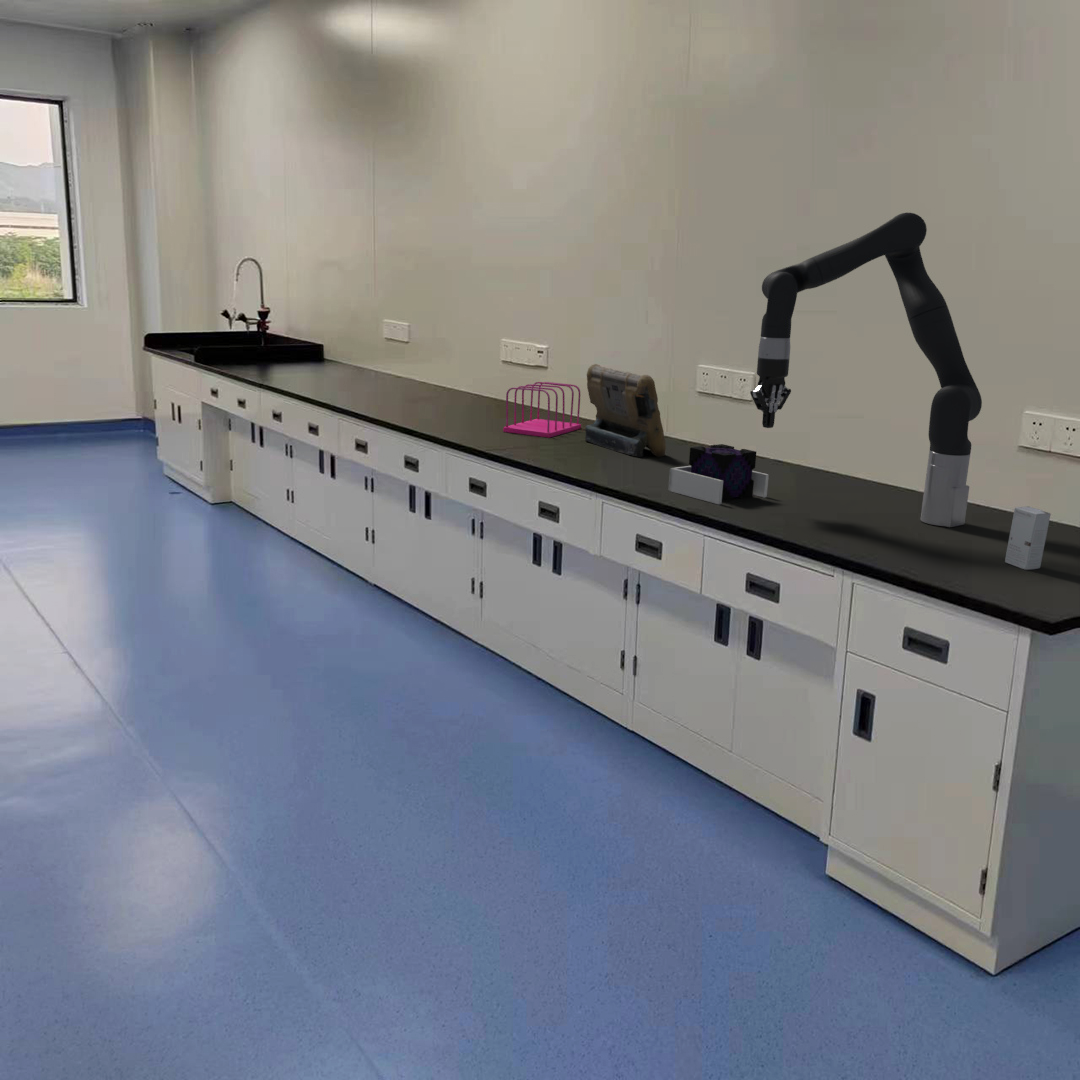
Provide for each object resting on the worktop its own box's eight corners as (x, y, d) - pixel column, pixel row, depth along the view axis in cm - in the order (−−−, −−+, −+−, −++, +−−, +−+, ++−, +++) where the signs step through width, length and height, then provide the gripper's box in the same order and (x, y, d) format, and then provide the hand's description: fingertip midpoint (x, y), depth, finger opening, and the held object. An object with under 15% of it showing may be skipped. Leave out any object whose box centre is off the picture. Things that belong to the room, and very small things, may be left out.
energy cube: (720, 502, 283) (724, 455, 280) (686, 492, 292) (690, 447, 289) (752, 497, 290) (756, 451, 287) (718, 488, 299) (722, 444, 296)
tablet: (674, 455, 344) (680, 374, 337) (639, 459, 336) (645, 375, 329) (608, 438, 369) (612, 362, 363) (574, 441, 361) (578, 363, 355)
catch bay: (766, 497, 290) (768, 474, 289) (718, 504, 279) (720, 481, 278) (715, 484, 304) (717, 462, 302) (668, 490, 293) (669, 468, 291)
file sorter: (502, 432, 373) (504, 385, 369) (536, 423, 395) (538, 379, 391) (549, 438, 366) (551, 390, 362) (581, 428, 387) (583, 383, 383)
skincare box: (1003, 562, 236) (1012, 506, 233) (1019, 561, 238) (1027, 505, 235) (1026, 570, 231) (1035, 513, 228) (1042, 568, 233) (1051, 512, 230)
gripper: (767, 358, 264) (761, 431, 268) (803, 357, 272) (797, 427, 276) (743, 355, 269) (738, 427, 274) (779, 354, 277) (773, 423, 282)
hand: (768, 427), depth 275 cm, fingers closed
